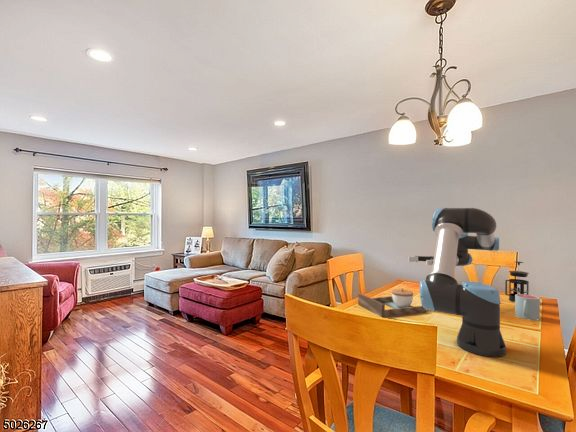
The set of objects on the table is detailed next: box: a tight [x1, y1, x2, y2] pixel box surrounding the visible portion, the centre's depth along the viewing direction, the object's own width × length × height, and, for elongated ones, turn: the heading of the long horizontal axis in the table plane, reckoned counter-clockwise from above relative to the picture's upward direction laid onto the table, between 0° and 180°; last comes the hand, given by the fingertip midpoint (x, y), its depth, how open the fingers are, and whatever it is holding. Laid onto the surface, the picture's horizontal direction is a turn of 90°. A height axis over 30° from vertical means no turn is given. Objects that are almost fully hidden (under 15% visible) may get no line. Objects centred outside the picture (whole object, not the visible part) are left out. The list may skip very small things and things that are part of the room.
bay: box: [357, 293, 426, 318], centre depth 154 cm, size 26×21×6 cm
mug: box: [514, 293, 541, 321], centre depth 140 cm, size 14×9×10 cm
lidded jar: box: [391, 288, 414, 308], centre depth 156 cm, size 11×11×9 cm
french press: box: [504, 260, 530, 303], centre depth 170 cm, size 12×9×23 cm
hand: (417, 260), depth 159 cm, fingers open, 13 cm apart
